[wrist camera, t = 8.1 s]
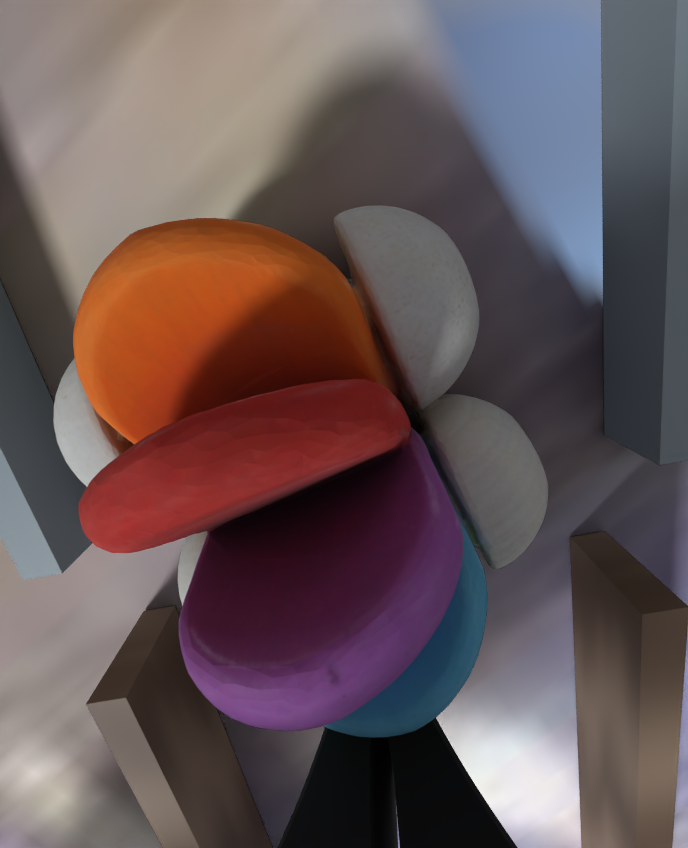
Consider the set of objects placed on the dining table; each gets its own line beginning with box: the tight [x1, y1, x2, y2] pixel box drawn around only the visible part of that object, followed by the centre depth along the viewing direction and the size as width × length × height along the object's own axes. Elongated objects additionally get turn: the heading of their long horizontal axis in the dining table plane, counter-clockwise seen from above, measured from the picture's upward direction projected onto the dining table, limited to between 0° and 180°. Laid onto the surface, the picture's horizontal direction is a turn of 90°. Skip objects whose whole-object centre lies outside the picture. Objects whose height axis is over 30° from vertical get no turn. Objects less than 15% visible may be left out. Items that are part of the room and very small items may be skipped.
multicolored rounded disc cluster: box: [53, 205, 548, 737], centre depth 8 cm, size 8×10×7 cm
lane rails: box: [86, 531, 688, 848], centre depth 13 cm, size 17×14×3 cm
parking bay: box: [0, 0, 688, 580], centre depth 8 cm, size 13×16×2 cm
